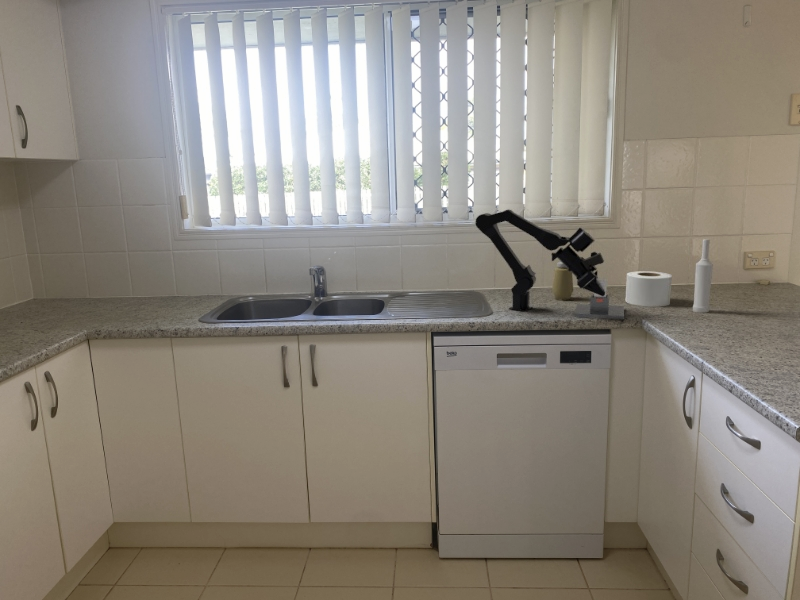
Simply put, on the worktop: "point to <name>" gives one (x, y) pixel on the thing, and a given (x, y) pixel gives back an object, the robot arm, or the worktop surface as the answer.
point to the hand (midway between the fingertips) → (604, 293)
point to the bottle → (703, 281)
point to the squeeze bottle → (562, 282)
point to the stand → (599, 309)
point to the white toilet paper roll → (648, 288)
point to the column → (602, 284)
